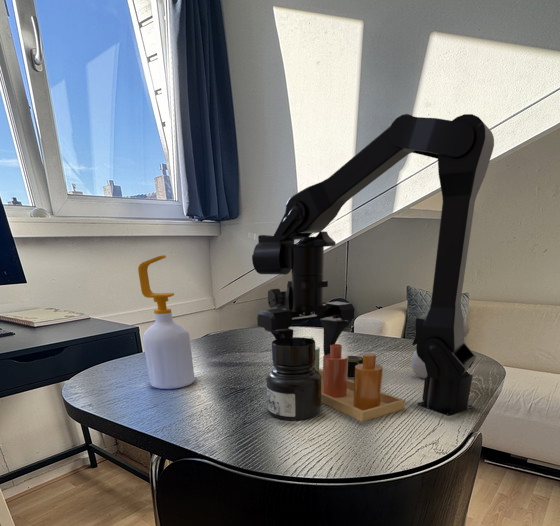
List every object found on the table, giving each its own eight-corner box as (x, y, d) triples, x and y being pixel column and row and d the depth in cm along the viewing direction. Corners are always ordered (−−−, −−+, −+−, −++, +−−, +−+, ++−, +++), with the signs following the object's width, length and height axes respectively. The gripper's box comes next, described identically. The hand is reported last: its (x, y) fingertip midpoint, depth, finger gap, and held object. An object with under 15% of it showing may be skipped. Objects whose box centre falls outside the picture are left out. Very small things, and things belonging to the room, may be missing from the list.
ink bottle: (260, 407, 71) (256, 338, 66) (306, 400, 74) (306, 333, 69) (280, 428, 63) (277, 351, 58) (331, 419, 66) (333, 344, 61)
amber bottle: (385, 408, 68) (389, 355, 64) (365, 414, 66) (368, 359, 62) (367, 401, 71) (370, 349, 68) (347, 406, 69) (349, 353, 66)
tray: (404, 411, 68) (405, 400, 67) (362, 424, 64) (362, 412, 63) (314, 376, 88) (314, 366, 87) (277, 384, 83) (277, 374, 82)
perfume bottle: (409, 372, 88) (415, 314, 83) (458, 374, 85) (467, 315, 80) (409, 382, 82) (415, 321, 77) (461, 385, 79) (472, 322, 74)
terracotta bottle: (351, 394, 75) (354, 345, 71) (332, 399, 73) (333, 349, 69) (336, 388, 78) (337, 341, 74) (317, 393, 76) (318, 344, 72)
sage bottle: (323, 383, 81) (324, 337, 78) (305, 387, 79) (305, 340, 75) (310, 378, 85) (310, 334, 81) (293, 381, 83) (292, 337, 79)
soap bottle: (189, 389, 82) (172, 255, 72) (144, 390, 82) (121, 257, 72) (198, 376, 90) (184, 254, 80) (157, 377, 90) (138, 255, 80)
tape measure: (362, 370, 90) (363, 353, 89) (367, 379, 84) (368, 361, 83) (331, 370, 91) (332, 354, 89) (334, 380, 85) (334, 362, 83)
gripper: (322, 270, 84) (321, 346, 91) (241, 276, 76) (246, 359, 82) (358, 272, 76) (354, 356, 82) (271, 279, 67) (274, 372, 73)
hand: (307, 360), depth 80 cm, fingers open, 9 cm apart
